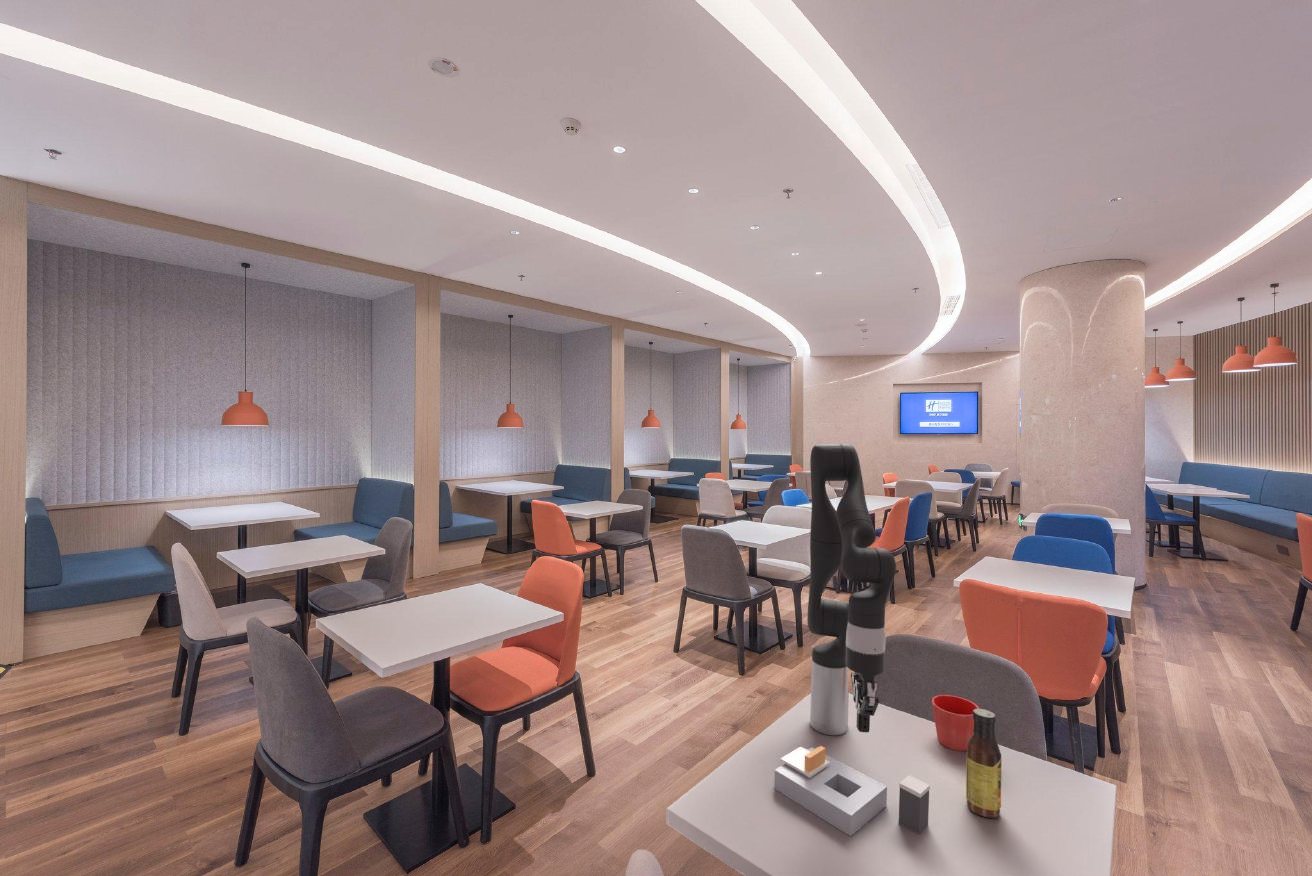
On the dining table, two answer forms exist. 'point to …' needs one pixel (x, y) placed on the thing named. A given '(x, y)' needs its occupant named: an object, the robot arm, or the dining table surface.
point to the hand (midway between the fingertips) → (862, 730)
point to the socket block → (834, 794)
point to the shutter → (806, 760)
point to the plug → (914, 804)
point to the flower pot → (953, 720)
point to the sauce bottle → (983, 766)
